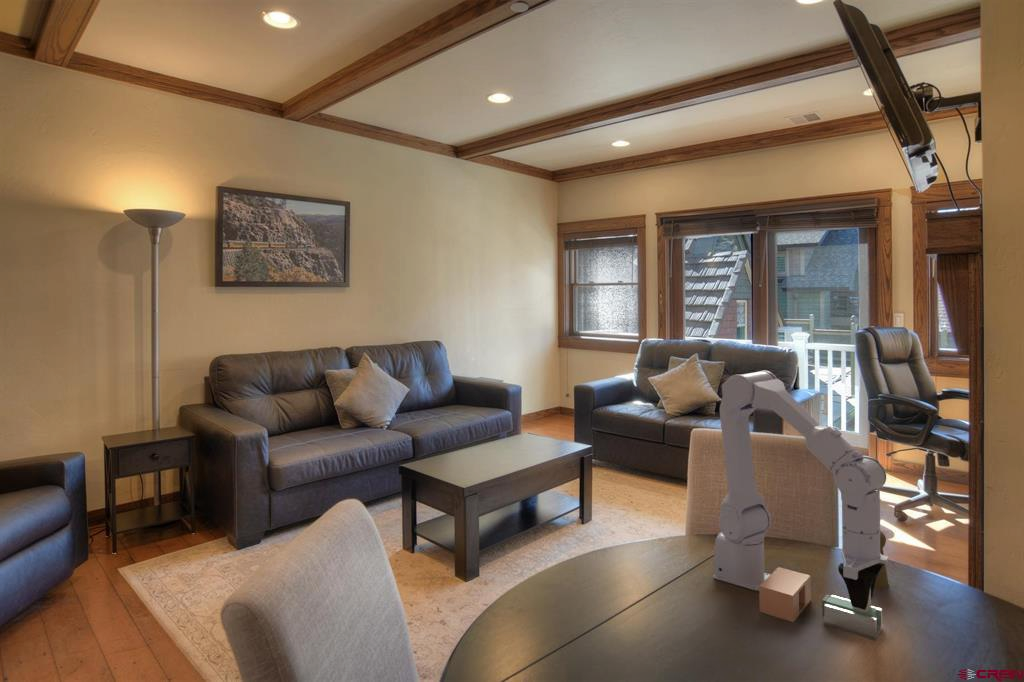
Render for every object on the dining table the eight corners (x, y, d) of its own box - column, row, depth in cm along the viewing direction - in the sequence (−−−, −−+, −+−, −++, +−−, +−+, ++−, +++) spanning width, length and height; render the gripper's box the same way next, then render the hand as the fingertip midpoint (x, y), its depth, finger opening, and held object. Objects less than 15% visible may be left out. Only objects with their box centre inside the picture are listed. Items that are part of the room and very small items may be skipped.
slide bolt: (822, 616, 107) (821, 576, 107) (827, 610, 109) (826, 571, 109) (872, 632, 102) (872, 590, 101) (876, 625, 104) (876, 583, 103)
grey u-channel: (824, 624, 106) (824, 605, 106) (832, 613, 110) (832, 594, 109) (875, 640, 101) (875, 620, 100) (882, 628, 104) (882, 608, 104)
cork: (894, 590, 117) (893, 536, 116) (860, 588, 118) (860, 535, 118) (881, 576, 123) (881, 524, 122) (849, 574, 124) (849, 523, 123)
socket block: (759, 611, 111) (759, 585, 111) (778, 591, 119) (778, 567, 118) (793, 622, 107) (792, 595, 107) (810, 600, 115) (810, 575, 114)
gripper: (877, 547, 95) (877, 629, 96) (896, 520, 105) (897, 594, 106) (829, 537, 100) (830, 614, 101) (852, 512, 110) (853, 582, 111)
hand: (861, 603), depth 104 cm, fingers closed on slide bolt, 3 cm apart
